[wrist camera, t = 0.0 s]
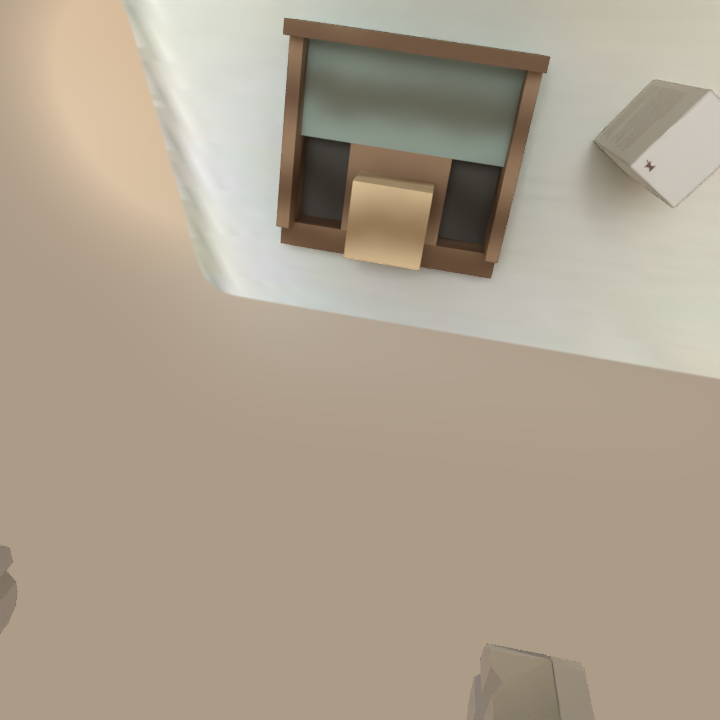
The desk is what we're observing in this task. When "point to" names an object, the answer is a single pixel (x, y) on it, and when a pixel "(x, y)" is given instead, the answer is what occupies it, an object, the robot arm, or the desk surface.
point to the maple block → (388, 219)
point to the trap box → (404, 135)
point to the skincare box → (666, 139)
